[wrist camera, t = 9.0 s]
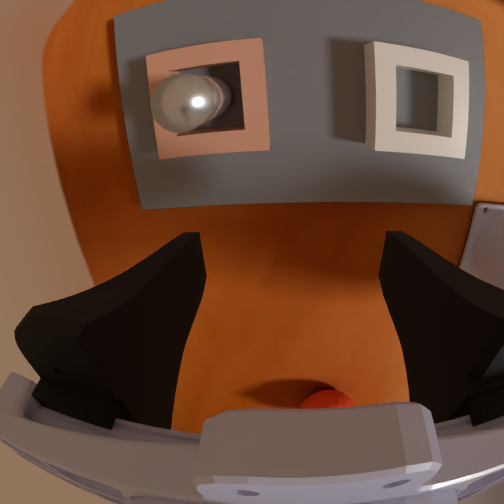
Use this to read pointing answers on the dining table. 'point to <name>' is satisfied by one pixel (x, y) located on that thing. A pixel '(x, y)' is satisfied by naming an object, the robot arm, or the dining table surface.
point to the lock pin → (189, 101)
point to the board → (303, 102)
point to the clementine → (327, 400)
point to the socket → (253, 97)
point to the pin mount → (384, 101)
